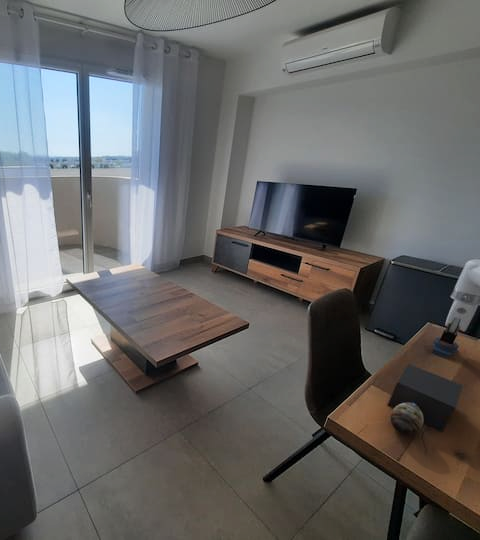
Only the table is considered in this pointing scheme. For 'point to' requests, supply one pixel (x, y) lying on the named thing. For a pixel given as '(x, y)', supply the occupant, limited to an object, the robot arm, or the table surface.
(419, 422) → the seashell
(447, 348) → the block
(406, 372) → the dark grey box
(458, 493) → the table surface
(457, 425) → the table surface
